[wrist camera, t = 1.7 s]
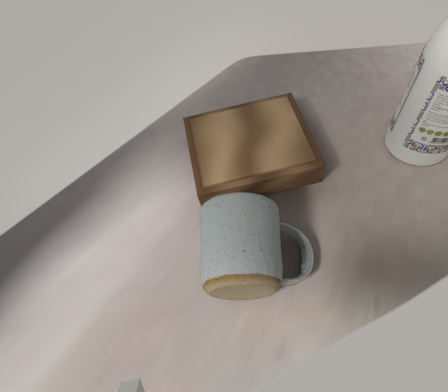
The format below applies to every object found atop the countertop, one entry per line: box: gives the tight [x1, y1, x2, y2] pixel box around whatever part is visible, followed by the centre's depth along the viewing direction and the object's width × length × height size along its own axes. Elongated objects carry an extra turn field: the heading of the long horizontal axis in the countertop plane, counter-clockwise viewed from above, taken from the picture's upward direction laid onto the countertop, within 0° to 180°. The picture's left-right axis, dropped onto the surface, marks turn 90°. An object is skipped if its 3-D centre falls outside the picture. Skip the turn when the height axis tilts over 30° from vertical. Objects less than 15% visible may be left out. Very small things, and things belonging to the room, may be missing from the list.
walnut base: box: [183, 93, 326, 206], centre depth 38 cm, size 14×12×3 cm
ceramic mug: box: [200, 192, 314, 300], centre depth 29 cm, size 11×8×8 cm
